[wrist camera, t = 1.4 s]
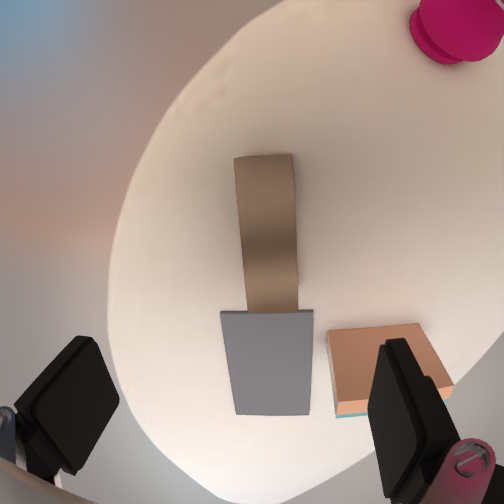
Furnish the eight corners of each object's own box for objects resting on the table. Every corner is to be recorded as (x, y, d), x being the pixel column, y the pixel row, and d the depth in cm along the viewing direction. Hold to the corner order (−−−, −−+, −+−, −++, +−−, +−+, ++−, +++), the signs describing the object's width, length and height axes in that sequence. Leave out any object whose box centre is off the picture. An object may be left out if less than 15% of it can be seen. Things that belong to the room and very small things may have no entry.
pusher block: (243, 156, 25) (233, 158, 21) (291, 153, 25) (292, 155, 20) (254, 286, 29) (248, 313, 25) (297, 285, 29) (298, 312, 24)
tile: (327, 330, 30) (338, 401, 20) (418, 323, 28) (454, 385, 19) (326, 345, 30) (335, 418, 21) (415, 338, 29) (447, 401, 20)
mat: (313, 309, 29) (313, 312, 29) (308, 412, 34) (309, 415, 34) (220, 311, 30) (219, 313, 30) (236, 411, 35) (236, 414, 35)
